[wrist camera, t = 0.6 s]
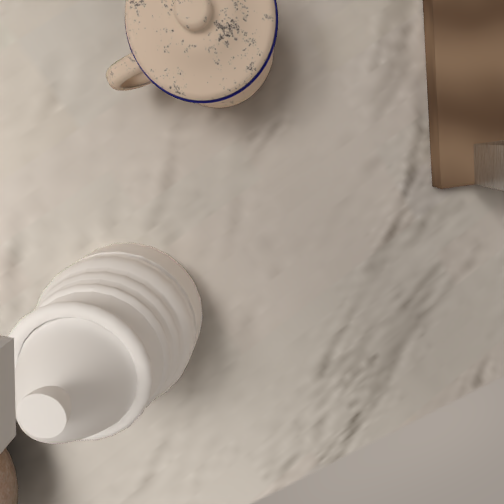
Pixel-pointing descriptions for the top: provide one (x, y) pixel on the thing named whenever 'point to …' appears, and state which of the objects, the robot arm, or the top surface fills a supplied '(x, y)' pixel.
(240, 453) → the top surface
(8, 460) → the cooking pot
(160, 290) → the honey pot
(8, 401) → the robot arm
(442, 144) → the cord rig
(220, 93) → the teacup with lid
